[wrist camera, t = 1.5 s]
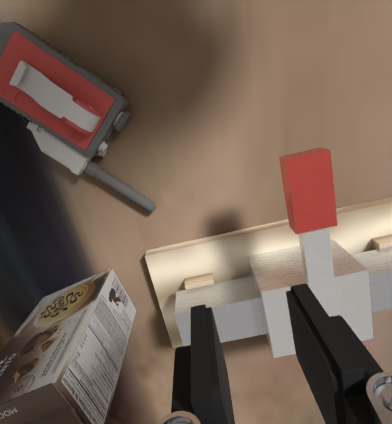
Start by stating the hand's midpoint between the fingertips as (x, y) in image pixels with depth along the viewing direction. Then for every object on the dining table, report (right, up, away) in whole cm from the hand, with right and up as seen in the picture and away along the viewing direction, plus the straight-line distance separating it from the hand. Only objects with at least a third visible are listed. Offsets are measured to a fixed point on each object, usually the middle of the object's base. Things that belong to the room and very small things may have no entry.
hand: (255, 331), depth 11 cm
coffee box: (-14, -6, +25) cm, 30 cm away
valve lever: (+7, +1, +14) cm, 15 cm away
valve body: (+8, -3, +23) cm, 24 cm away
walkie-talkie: (-13, +13, +20) cm, 27 cm away
